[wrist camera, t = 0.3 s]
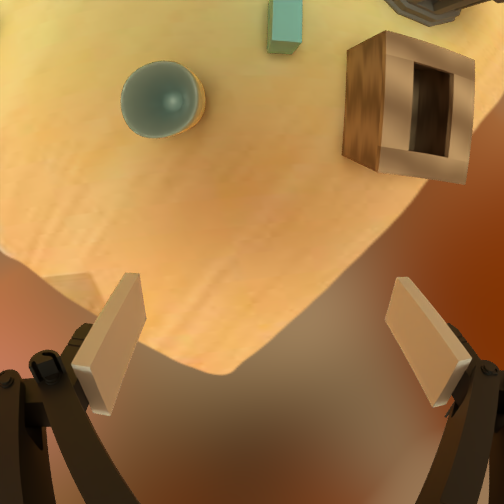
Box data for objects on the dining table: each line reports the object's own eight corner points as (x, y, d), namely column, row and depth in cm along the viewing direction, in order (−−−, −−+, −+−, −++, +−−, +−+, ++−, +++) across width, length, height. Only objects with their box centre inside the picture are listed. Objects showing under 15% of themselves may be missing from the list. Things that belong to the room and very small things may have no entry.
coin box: (347, 50, 33) (385, 30, 22) (422, 67, 33) (476, 60, 22) (341, 155, 38) (378, 172, 28) (415, 164, 39) (466, 185, 28)
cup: (205, 67, 34) (193, 52, 24) (214, 126, 37) (204, 131, 28) (144, 80, 34) (114, 71, 25) (153, 138, 37) (126, 147, 28)
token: (268, 3, 30) (273, -17, 24) (292, 5, 30) (302, -14, 24) (266, 52, 33) (271, 40, 27) (291, 54, 33) (301, 42, 27)
